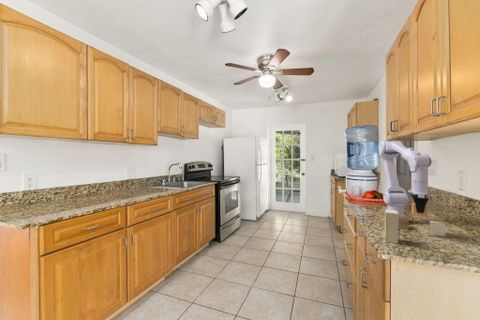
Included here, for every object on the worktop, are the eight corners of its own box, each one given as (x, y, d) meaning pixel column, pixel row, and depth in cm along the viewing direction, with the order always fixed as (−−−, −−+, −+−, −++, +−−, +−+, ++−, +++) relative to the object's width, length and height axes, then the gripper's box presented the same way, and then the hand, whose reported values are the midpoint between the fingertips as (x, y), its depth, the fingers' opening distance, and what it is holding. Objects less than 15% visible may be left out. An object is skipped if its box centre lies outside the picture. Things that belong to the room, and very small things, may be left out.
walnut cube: (393, 225, 109) (393, 215, 109) (405, 226, 107) (405, 216, 107) (396, 228, 104) (395, 218, 104) (408, 229, 102) (408, 219, 102)
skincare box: (384, 237, 93) (384, 209, 93) (397, 239, 91) (397, 210, 91) (385, 242, 88) (385, 212, 87) (398, 244, 85) (398, 213, 85)
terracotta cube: (412, 213, 100) (412, 202, 100) (426, 214, 98) (426, 203, 98) (413, 215, 96) (413, 204, 96) (427, 217, 93) (427, 205, 93)
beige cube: (430, 231, 100) (430, 220, 100) (444, 233, 97) (444, 222, 97) (429, 234, 96) (429, 223, 96) (445, 236, 93) (445, 225, 93)
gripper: (407, 179, 105) (407, 207, 105) (409, 182, 93) (409, 213, 93) (426, 180, 101) (426, 209, 101) (431, 183, 89) (431, 216, 89)
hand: (419, 211), depth 97 cm, fingers closed on terracotta cube, 5 cm apart
